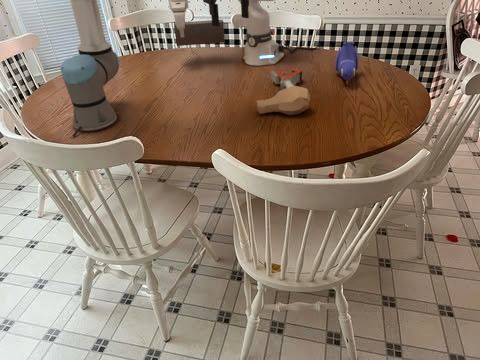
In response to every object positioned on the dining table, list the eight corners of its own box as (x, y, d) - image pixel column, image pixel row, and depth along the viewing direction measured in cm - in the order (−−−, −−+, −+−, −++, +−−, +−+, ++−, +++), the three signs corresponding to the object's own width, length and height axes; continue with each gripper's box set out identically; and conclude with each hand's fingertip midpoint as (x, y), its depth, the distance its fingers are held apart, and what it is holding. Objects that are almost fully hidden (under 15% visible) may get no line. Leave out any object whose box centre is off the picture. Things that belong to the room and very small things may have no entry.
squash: (314, 116, 128) (313, 95, 122) (259, 125, 130) (256, 105, 124) (308, 99, 136) (307, 78, 129) (257, 108, 138) (253, 88, 131)
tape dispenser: (295, 102, 142) (315, 82, 154) (296, 90, 138) (316, 70, 151) (257, 92, 149) (279, 74, 162) (257, 81, 146) (279, 63, 158)
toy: (333, 78, 167) (335, 88, 145) (335, 40, 160) (337, 44, 138) (355, 78, 165) (360, 87, 142) (358, 39, 158) (364, 43, 136)
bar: (223, 39, 180) (222, 19, 174) (224, 42, 175) (223, 21, 170) (177, 43, 178) (174, 22, 173) (176, 46, 174) (174, 25, 168)
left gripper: (246, -57, 116) (248, 13, 129) (185, -50, 103) (195, 27, 115) (263, -57, 112) (264, 15, 124) (202, -50, 98) (210, 31, 111)
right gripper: (172, 1, 174) (176, 30, 182) (171, 8, 157) (175, 40, 165) (185, 0, 174) (189, 30, 182) (185, 7, 158) (189, 39, 166)
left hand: (230, 21), depth 120 cm, fingers open, 13 cm apart
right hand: (182, 35), depth 174 cm, fingers closed on bar, 5 cm apart
